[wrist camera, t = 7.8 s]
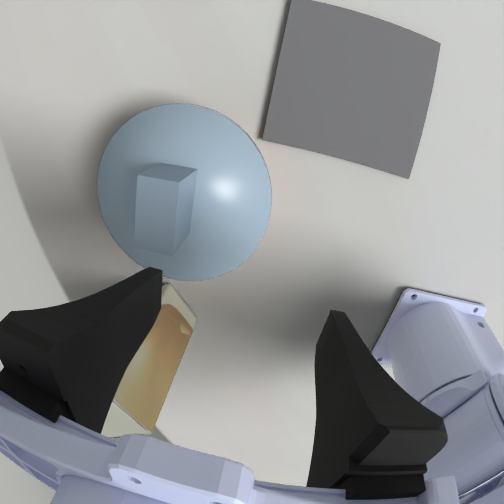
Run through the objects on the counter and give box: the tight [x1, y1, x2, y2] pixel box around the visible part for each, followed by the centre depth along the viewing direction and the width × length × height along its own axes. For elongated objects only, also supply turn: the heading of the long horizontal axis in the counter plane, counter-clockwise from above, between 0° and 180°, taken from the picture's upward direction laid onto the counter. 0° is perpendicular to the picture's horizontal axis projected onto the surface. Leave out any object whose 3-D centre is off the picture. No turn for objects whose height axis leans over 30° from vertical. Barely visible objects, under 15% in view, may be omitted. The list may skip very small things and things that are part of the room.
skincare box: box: [101, 283, 197, 439], centre depth 22 cm, size 6×4×12 cm
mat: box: [262, 0, 441, 179], centre depth 17 cm, size 10×10×1 cm
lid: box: [97, 104, 272, 281], centre depth 17 cm, size 11×11×4 cm
